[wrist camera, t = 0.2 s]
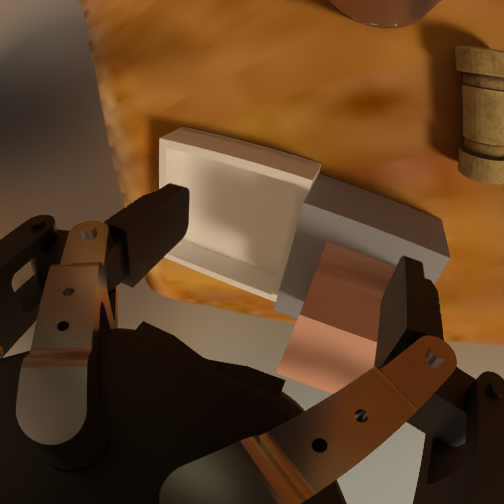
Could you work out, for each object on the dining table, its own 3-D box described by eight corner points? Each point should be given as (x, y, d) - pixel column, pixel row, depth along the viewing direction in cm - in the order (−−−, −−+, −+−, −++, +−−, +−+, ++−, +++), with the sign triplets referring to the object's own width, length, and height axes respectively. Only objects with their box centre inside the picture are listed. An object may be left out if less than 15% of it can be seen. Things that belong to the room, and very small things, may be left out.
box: (183, 126, 30) (159, 138, 27) (321, 163, 27) (312, 180, 24) (179, 237, 39) (161, 256, 36) (289, 278, 36) (277, 302, 33)
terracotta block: (326, 240, 24) (299, 314, 18) (409, 271, 23) (406, 352, 17) (304, 302, 29) (275, 372, 23) (375, 327, 27) (361, 402, 21)
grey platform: (319, 173, 28) (303, 202, 23) (441, 220, 25) (450, 258, 21) (291, 272, 35) (273, 309, 31) (391, 309, 33) (387, 351, 29)
